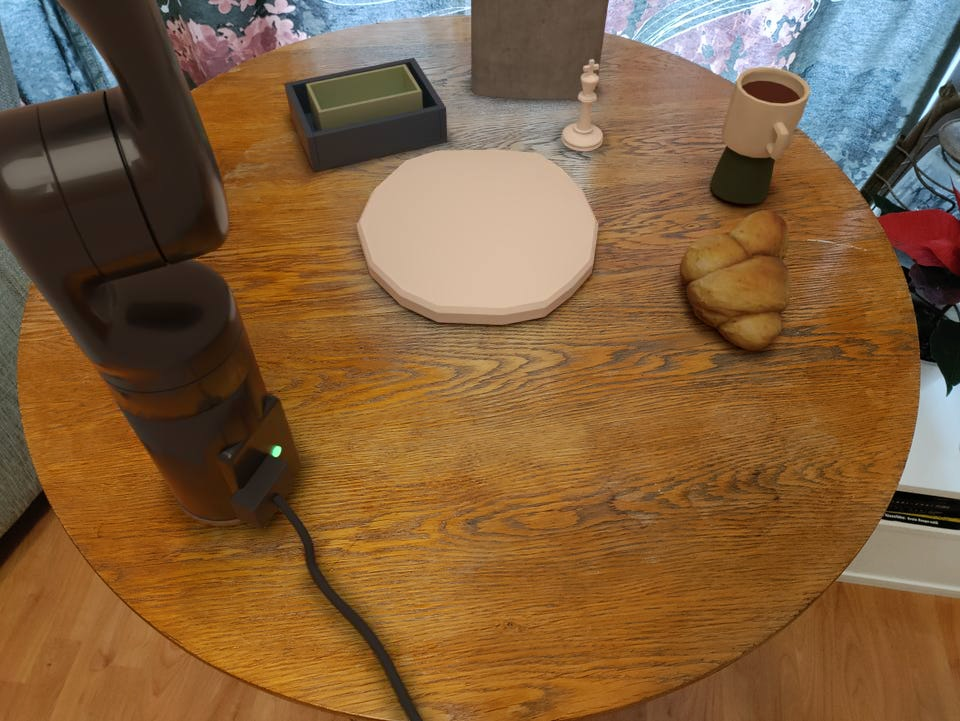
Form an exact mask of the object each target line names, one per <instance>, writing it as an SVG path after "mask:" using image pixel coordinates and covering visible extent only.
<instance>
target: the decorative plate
mask: <svg viewBox="0 0 960 721" xmlns="http://www.w3.org/2000/svg"><path fill="white" fill-rule="evenodd" d="M599 226H600V225H599V222H598V220H597V217H596V216H595V213H594V211H593V208H592V207H591V204H590V202H589V200H588V198H587V195H586V194H585V192H584V191H583V189H581V187H580V186H579V185H578V184H577V183H576V182H575V181H574V180H573V179H572V177H571V176H569V174H568V173H567V172H565V170H564V169H563V168H562V167H560V166H559V165H557V164H556V163H555V162H553V161H551V160H550V159H548V158H547V157H545V156H543V155H542V154H540V153H539V152H529V151H519V150H517V151H516V150H508V149H496V148H495V149H456V150H455V149H454V150H453V149H449V150H448V149H447V150H435V151H432V152H431V151H430V152H427V153H425V154H421V155H419V156H416V157H415V156H414V157H412V158H409V159H406V160H405V161H403V162H402V164H400V166H398V167H397V168H396V169H395V170H393V172H391V173H390V174H389V175H388V176H387V177H385V179H384V180H383V181H382V182H381V183H379V184H378V185H377V186H376V187H374V189H373V190H372V191H371V193H370V195H369V197H368V200H367V201H366V203H365V206H364V208H363V210H362V212H361V215H360V217H359V219H358V221H357V223H356V226H355V227H356V232H357V237H358V240H359V243H360V247H361V250H362V252H363V257H364V259H365V262H366V265H367V269H368V272H369V275H370V277H372V278H373V279H374V280H375V281H376V282H377V283H378V284H379V285H380V286H381V287H382V288H383V289H384V290H385V291H386V293H388V294H389V295H390V296H391V297H392V298H393V299H394V300H396V302H397V303H398V304H399V305H400V306H402V307H404V308H406V309H408V310H409V311H412V312H415V313H417V314H419V315H421V316H424V317H426V318H428V319H430V320H432V321H434V322H436V323H445V324H449V323H450V324H471V325H474V324H475V325H496V326H497V325H500V326H505V325H509V324H515V323H519V322H525V321H530V320H535V319H540V318H545V317H546V316H548V315H549V314H550V313H551V312H553V311H555V309H556V308H558V307H559V306H561V305H562V304H563V303H565V302H566V301H567V300H569V299H570V298H571V297H572V296H573V295H574V294H575V293H576V292H577V291H578V289H580V287H581V286H582V285H583V284H584V283H585V282H586V280H588V278H589V277H590V276H591V275H592V274H593V269H594V268H593V267H594V262H595V253H596V247H597V239H598V232H599Z"/></svg>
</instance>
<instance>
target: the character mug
mask: <svg viewBox="0 0 960 721" xmlns="http://www.w3.org/2000/svg"><path fill="white" fill-rule="evenodd" d="M810 95H811V88H810V86H809V83H808V82H807V81H806V80H805V79H803V78H802V77H801V76H799V75H798V74H795V73H793V72H791V71H789V70H785V69H782V68H778V67H772V66H771V67H769V66H758V67H752V68H748V69H746V70H744V71H742V72H740V73H739V75H738V77H737V78H736V80H735V83H734V85H733V89H732V92H731V96H730V99H729V102H728V106H727V108H726V109H727V110H726V113H725V117H724V120H723V124H722V127H721V140H722V142H723V143H724V144H725V145H726V146H725V148H724V150H723V152H722V154H721V156H720V158H719V160H718V162H717V165H716V167H715V169H714V171H713V174H712V176H711V178H710V184H709V186H710V189H711V190H712V192H713V194H714V195H716V196H717V197H719V199H721V200H723V201H727V202H731V203H735V204H741V205H752V204H753V205H756V204H761V203H762V202H763V201H765V200H766V199H767V197H768V194H769V190H770V186H771V183H772V178H773V174H774V167H775V163H776V162H775V161H778V160H780V159H781V157H782V155H783V152H785V151H787V149H789V148H790V147H791V146H792V144H793V142H794V139H795V130H796V127H797V126H798V125H799V122H800V121H801V119H802V117H803V115H804V113H805V109H806V107H807V106H806V105H807V102H808V101H809V97H810Z"/></svg>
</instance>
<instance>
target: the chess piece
mask: <svg viewBox="0 0 960 721" xmlns="http://www.w3.org/2000/svg"><path fill="white" fill-rule="evenodd" d="M594 62H595V61H594V60H593V59H591V60H589V65H587V66H583V71H584V72H586V71H588V72H587V73H584V74H582V75H581V83H582V88H583V91H582V92H580V93H579V95H578V98H577V99H578V100H579V101H580V102H581V106H580V110H579V114H578V118H577V122H574V123H573V122H572V123H570V124H568V125H566V126H565V127H564V128H563V130H562V133H561V136H560V139H561V142H562V143H563V145H564V146H565V147H567V148H568V149H570V150H573V151H577V152H591V151H595V150H597V149H598V148H600V147H601V146H602V144H603V141H604V134H603V131H602V130H601V129H600V128H599V127H598V126H597V125H595V124H593V123H592V116H591V115H592V103H594V102H596V101H597V99H598V97H597V93H596V94H595V93H594V92H593V90H594V88H595V86H596V84H597V85H598V83H597V82H599V80H600V77H599V75H597V74H595V73H593V70H598V69H599V70H600V68H599V65H598V64H594Z"/></svg>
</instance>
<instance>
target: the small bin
mask: <svg viewBox="0 0 960 721" xmlns="http://www.w3.org/2000/svg"><path fill="white" fill-rule="evenodd" d="M306 88H307V93H308V98H309V104H310V109H311V114H312V119H313V123H314V125H315V127H316V130H317V131H322V130H326V129H331V128H336V127H340V126H345V125H350V124H354V123H359V122H364V121H368V120H373V119H378V118H382V117H387V116H391V115H396V114H401V113H405V112H410V111H415V110H419V109H423V103H422V91H421V89H420V87H419V86H418V84H417V83H416V81H415V79H414V78H413V76H412V74H411V73H410V71H409V70H408V68H407V66H406V65H405V64H403V65H398V66H393V67H388V68H383V69H378V70H373V71H368V72H363V73H358V74H353V75H348V76H343V77H338V78H333V79H328V80H323V81H318V82H313V83H308V84H306Z"/></svg>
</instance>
